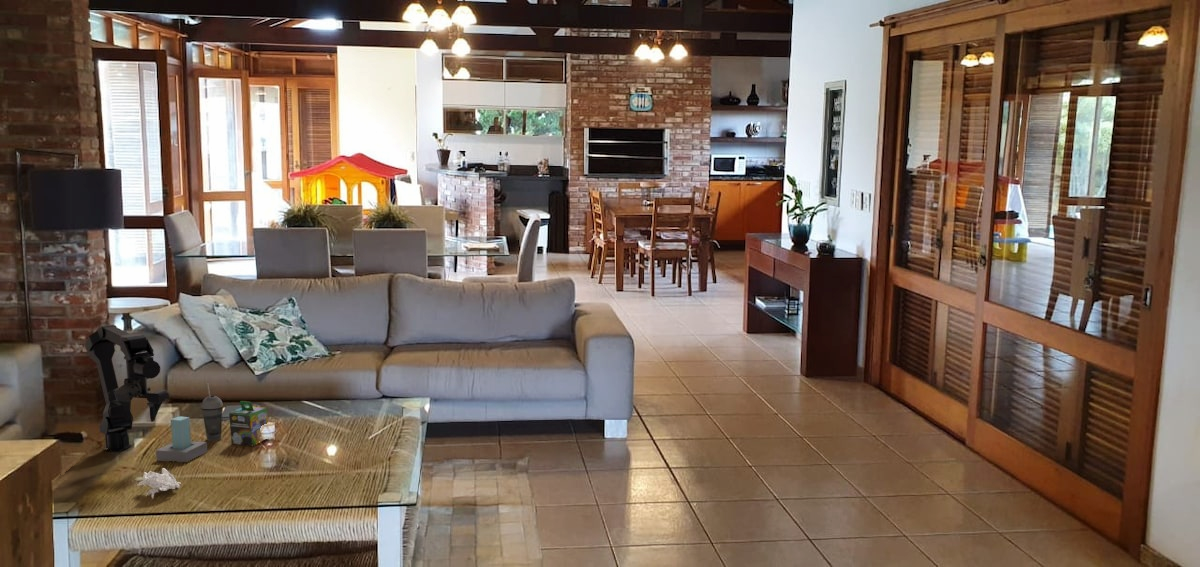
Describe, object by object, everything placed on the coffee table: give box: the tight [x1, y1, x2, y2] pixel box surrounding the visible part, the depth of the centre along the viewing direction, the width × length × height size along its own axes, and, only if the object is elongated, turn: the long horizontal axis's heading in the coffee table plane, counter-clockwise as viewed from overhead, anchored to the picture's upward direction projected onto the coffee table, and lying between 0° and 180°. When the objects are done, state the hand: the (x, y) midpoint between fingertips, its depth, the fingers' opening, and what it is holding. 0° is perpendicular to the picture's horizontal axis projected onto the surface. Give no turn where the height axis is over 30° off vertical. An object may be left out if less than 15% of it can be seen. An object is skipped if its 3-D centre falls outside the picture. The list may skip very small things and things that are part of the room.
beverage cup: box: [200, 383, 224, 442], centre depth 329 cm, size 7×7×20 cm
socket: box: [155, 440, 208, 463], centre depth 312 cm, size 11×11×4 cm
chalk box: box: [229, 400, 269, 447], centre depth 327 cm, size 9×9×15 cm
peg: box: [170, 416, 192, 449], centre depth 311 cm, size 4×4×13 cm
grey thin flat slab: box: [222, 403, 261, 420], centre depth 364 cm, size 20×2×15 cm
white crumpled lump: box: [136, 467, 182, 500], centre depth 279 cm, size 12×7×12 cm
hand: (140, 420), depth 308 cm, fingers open, 9 cm apart
